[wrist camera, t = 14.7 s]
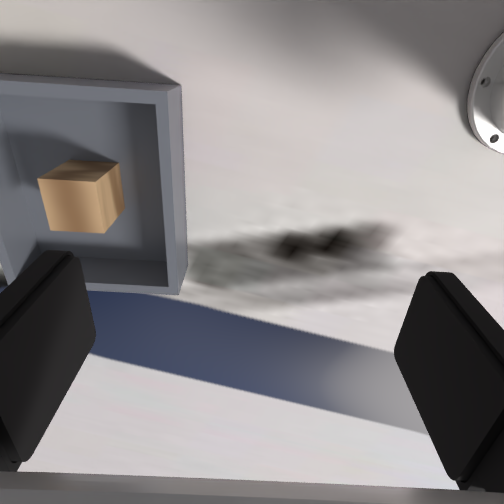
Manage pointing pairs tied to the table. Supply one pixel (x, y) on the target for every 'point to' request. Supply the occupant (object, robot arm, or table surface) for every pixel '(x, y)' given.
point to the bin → (102, 150)
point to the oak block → (82, 196)
